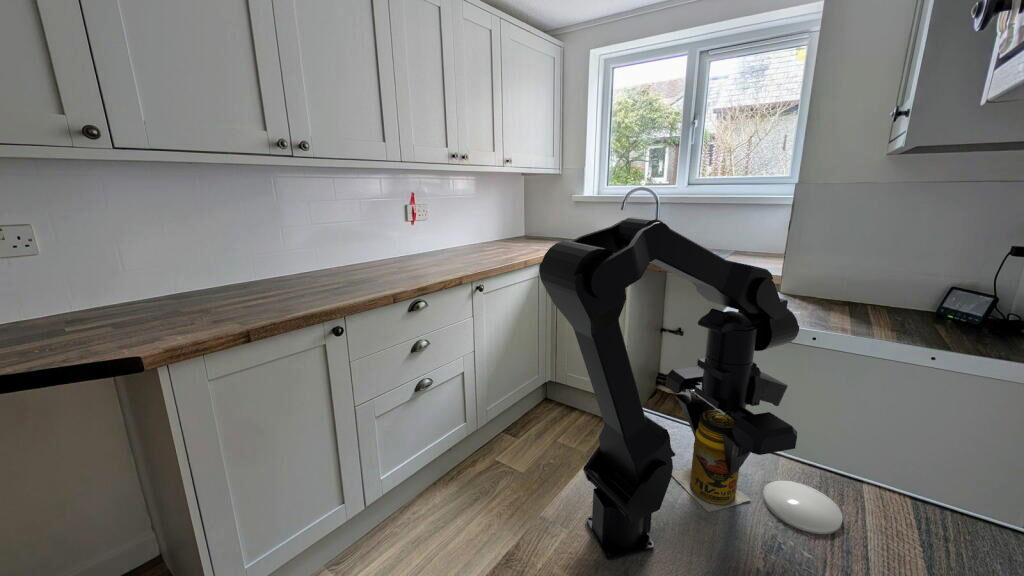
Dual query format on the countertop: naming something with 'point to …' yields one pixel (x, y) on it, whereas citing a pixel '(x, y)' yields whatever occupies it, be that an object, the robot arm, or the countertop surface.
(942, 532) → the countertop surface
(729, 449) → the robot arm
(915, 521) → the countertop surface
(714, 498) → the condiment
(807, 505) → the coaster
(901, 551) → the countertop surface
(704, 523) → the countertop surface
